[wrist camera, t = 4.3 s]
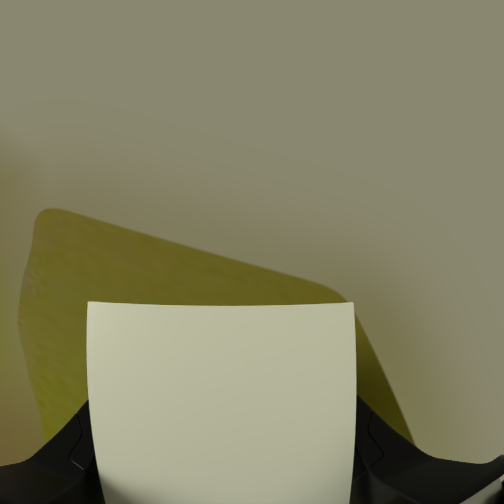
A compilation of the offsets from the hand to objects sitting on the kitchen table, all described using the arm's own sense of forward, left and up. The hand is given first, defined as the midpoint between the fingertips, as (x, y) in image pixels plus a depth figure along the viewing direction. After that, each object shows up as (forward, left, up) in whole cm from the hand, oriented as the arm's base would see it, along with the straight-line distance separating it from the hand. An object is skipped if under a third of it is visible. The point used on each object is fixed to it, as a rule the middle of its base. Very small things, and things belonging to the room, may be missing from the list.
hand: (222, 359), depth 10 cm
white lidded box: (-1, 0, -8) cm, 8 cm away
